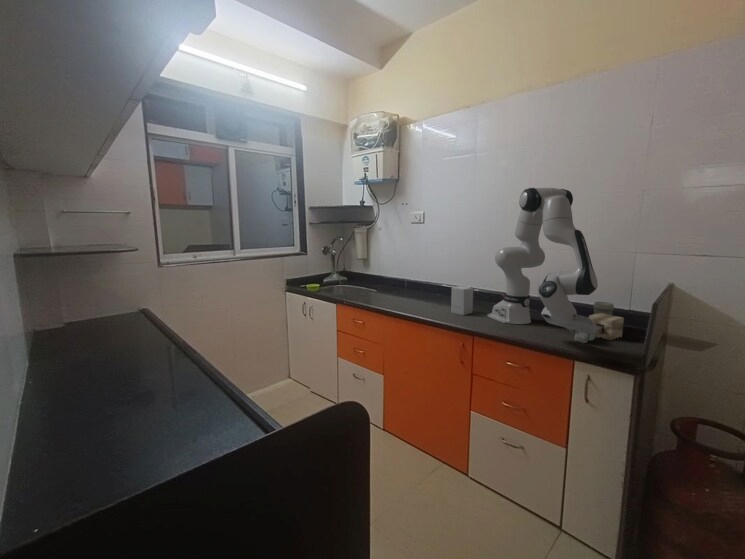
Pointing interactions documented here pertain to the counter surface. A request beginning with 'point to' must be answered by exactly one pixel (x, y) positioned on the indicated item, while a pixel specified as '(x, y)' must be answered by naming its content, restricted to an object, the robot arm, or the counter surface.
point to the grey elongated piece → (584, 336)
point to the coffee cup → (603, 308)
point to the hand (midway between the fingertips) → (576, 332)
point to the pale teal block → (591, 337)
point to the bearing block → (609, 325)
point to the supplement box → (462, 300)
